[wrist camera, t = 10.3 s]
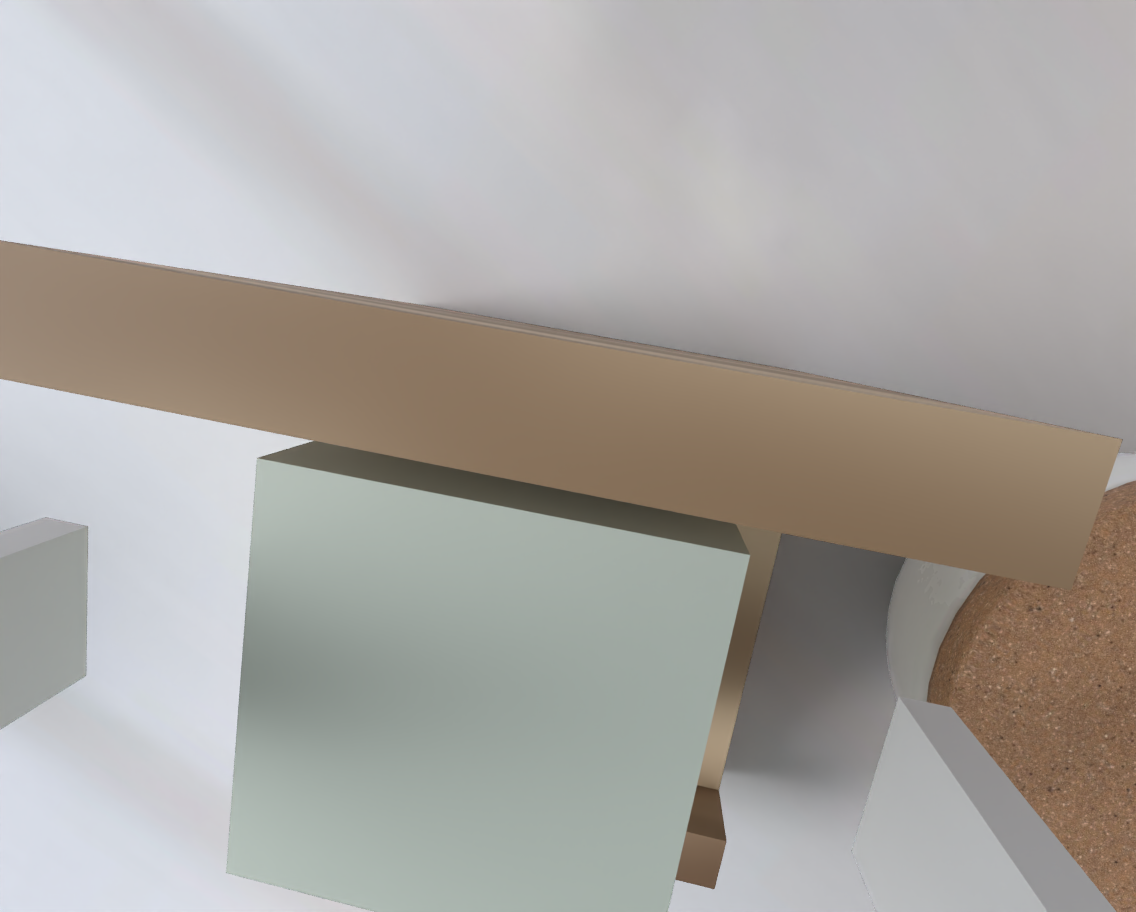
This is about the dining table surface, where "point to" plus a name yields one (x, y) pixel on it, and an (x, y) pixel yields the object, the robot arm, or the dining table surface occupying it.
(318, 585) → the cabinet block
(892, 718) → the robot arm
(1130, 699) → the lidded jar
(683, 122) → the dining table surface
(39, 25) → the dining table surface
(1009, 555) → the wooden stand
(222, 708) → the dining table surface
